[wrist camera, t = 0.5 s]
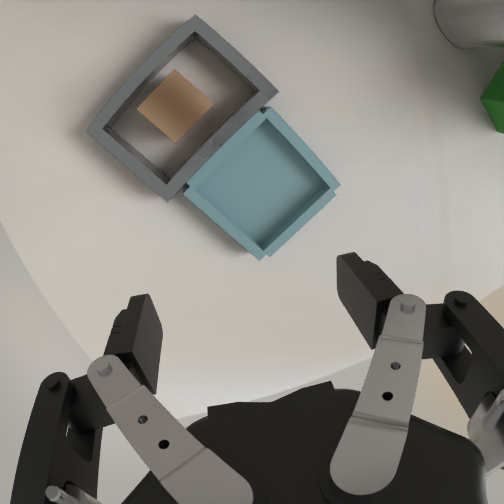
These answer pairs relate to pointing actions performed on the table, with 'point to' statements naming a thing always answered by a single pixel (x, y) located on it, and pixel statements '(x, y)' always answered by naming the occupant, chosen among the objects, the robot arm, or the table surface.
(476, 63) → the table surface
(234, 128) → the holder
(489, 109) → the hardback book
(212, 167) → the tray
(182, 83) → the walnut block
